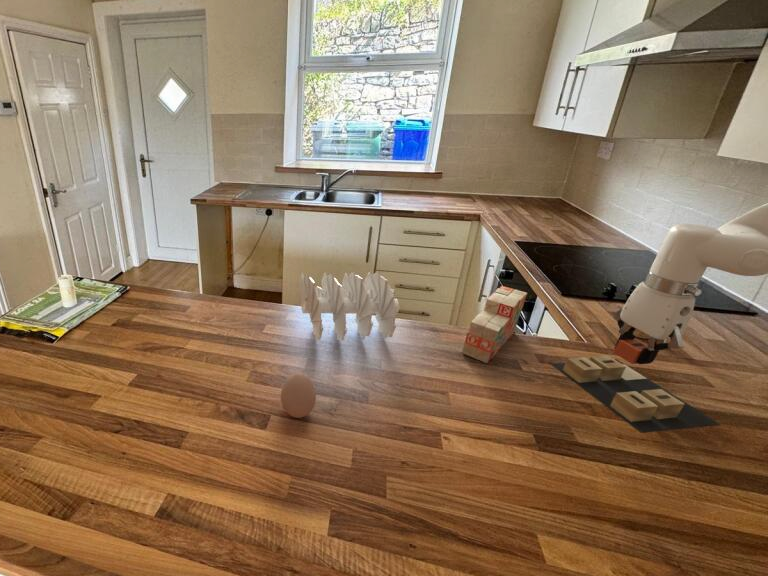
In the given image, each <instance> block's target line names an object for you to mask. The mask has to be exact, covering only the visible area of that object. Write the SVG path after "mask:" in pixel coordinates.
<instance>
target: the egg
mask: <svg viewBox="0 0 768 576" xmlns="http://www.w3.org/2000/svg"><path fill="white" fill-rule="evenodd" d="M316 400H317V392H316V387H315V385H314V382H313V381H312V379H311V378H310V376H308V374H305V373H303V372H295V373H292V374H291V375H289V376H288V377H287V379H286V380H285V381H284V383H283V385H282V388H281V392H280V402H281V405H282V408H283V410H284V411H285V412H286V414H288V415H289V416H291V417H293V418H296V419H299V418H300V419H302V418H304V417H306V416H308V415H309V414H310V413H311V412H312V411H313V409H314V406H315V405H316Z"/></svg>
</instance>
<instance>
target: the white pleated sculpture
mask: <svg viewBox="0 0 768 576" xmlns="http://www.w3.org/2000/svg"><path fill="white" fill-rule="evenodd" d="M371 273H372V272H371V271H368V272H367V274H366V277H365V278H363V277H361V276H359V275H358V274H356V270H353V271H352V272H350V273H349V274H348V272H345V273H344V275H343V278H342V281H341V284H340V283H339V281H338V280H337V278H335V274H334V273H331V274H328V273H327V272H324V273H323V275H322V279H321V281H320V284H321V287H320V286H316V282H315V281H314V279H313V278H312V277H311V276H310V272H308V273H305V275H304V273H303V272H300V276H299V278H298V279H299V280H298V288H299V295H300V300H301V301H300V302H301V303H300V304H301V307H300V308H301V312H302V314H309V318H310V319H309V320H310V323H311V324H312V334H313V335H314V340H315V341H321V339H322V335H323V331H324V327H323V323H322V322H323V319H322V314H332V322H333V323H334V325H333V331H334V332H335V334H336V340H337V341H339V340H340V341H342V342H343V341H344V340H345V337H346V334H347V332H348V328H347V319H346V318H347V314H351V315H352V314H353V315H354V314H355V318H354V320H355V323H356V326H357V331H356V332H357V334H359V335H361V339H362V340H365V339H366V338H367V337H370V335H371V332H372V329H373V326H374V323H373V321H372V318H373V317H372V316H373V315H375V319H376V322H377V324H378V327H377V332H380V333H381V334H382V337H383V339H387V338H392V337H393V334H394V332H395V330H396V328H397V324H396V317H397V316H396V315H397V314H398V313H399V311H400V302H399V300H398V299H397V298H396V289H393V288H392V287H391V285H390V284H388V282H389V281H388V279H386V278H385V277H384V276H382V275H380V271H376V272H374V273H372V274H371Z"/></svg>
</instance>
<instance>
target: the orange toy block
mask: <svg viewBox="0 0 768 576" xmlns="http://www.w3.org/2000/svg"><path fill="white" fill-rule="evenodd" d="M615 346H616V345H615ZM647 346H648V343H645V342H643V341H641V340H639V338H634V339H628V340H619V342H618V344H617V346H616V348H615V347H614V348H615V349H614V350H613V353H614V354H615V355H616V356H617V357H620V358H621V359H623V360H625V361H626V362H628V363H629V364H631V365H636V364H637V365H639V364H638V363H637V360H638V358H639V356H640V354H641V352H642V349H643V348H647Z"/></svg>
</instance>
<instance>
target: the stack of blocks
mask: <svg viewBox="0 0 768 576" xmlns="http://www.w3.org/2000/svg"><path fill="white" fill-rule="evenodd" d="M527 296H528V292H525V291H522V290H519V289H515V288H511V287H508V286H504V285H501V286H500V287H498V288H497V289H496V290H495V291H494V292H493V293H491V294H490V296H488V298H487V299H486V302H485V305H484V308H483V310H482V311H481V312H480V313H478V314H477V315H476V316H475V317H474V318H473V320H471V321H470V324H469V328H468V332H466V336H465V340H464V343H463V344H464V345H463V347H462V350H461V354H464V355H465V356H468V357H471V358H473V359H476V360H478V361H481V362H482V363H485V364H488V363H489V362H490V361H491V359H493V358H494V356H495V355H496V354H497V353H498V352H499V351H500V349H501V348H502V347H503V346H504V345H505V343H506V342H507V341H508V340H509V339H510V338H511V337H512V336H513V335H514V333H515V332H516V329H517V326H518V322H519V318H520V316H521V313H522V311H523V308H524V305H525V302H526V299H527ZM498 350H499V351H498Z"/></svg>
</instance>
